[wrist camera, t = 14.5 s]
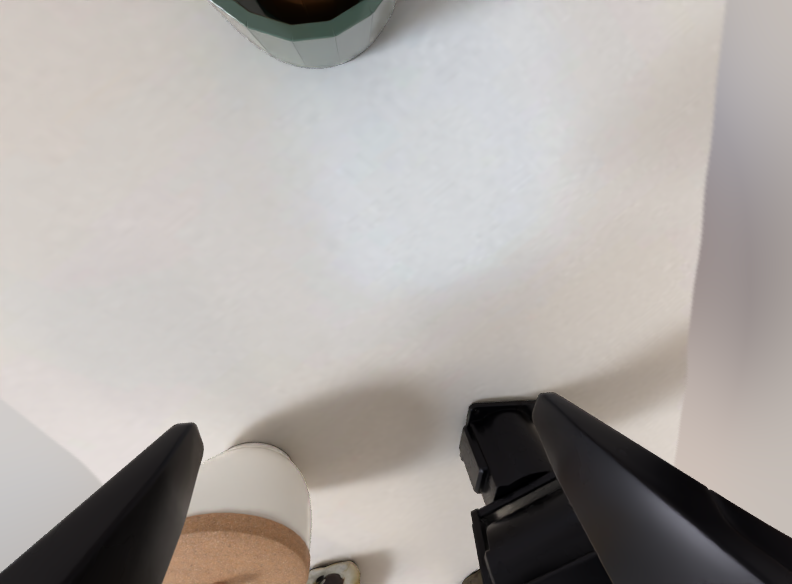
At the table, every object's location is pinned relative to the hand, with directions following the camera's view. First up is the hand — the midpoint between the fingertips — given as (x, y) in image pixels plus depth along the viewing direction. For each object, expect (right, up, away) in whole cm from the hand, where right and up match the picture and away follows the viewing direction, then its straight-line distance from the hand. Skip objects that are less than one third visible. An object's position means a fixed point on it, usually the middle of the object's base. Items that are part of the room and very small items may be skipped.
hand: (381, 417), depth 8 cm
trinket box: (-11, -12, +18) cm, 24 cm away
